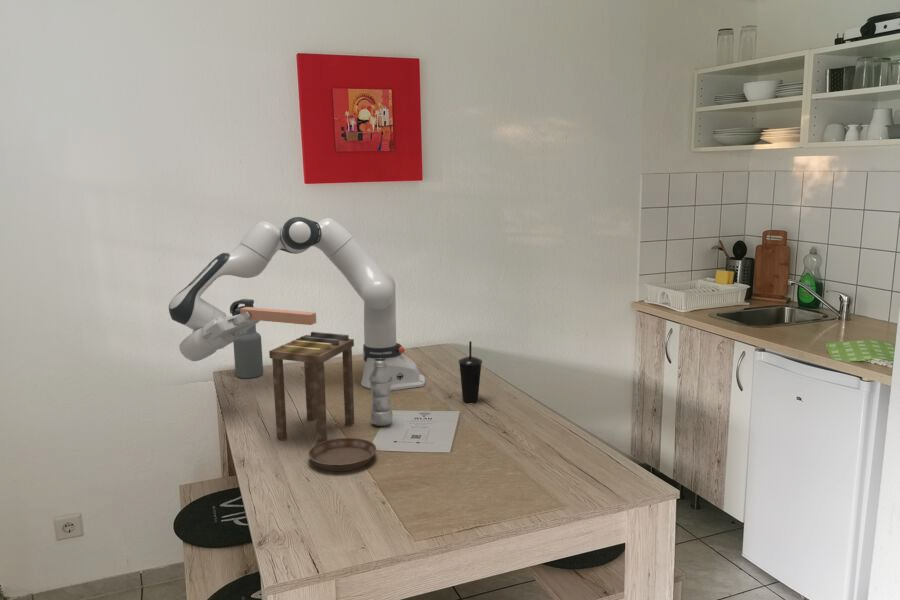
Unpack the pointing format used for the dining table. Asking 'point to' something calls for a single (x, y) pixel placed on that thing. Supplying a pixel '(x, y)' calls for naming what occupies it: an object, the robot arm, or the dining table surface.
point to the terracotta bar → (280, 315)
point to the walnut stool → (313, 377)
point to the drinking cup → (470, 377)
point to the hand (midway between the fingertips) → (254, 312)
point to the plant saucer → (342, 454)
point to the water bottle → (247, 347)
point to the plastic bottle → (380, 393)
